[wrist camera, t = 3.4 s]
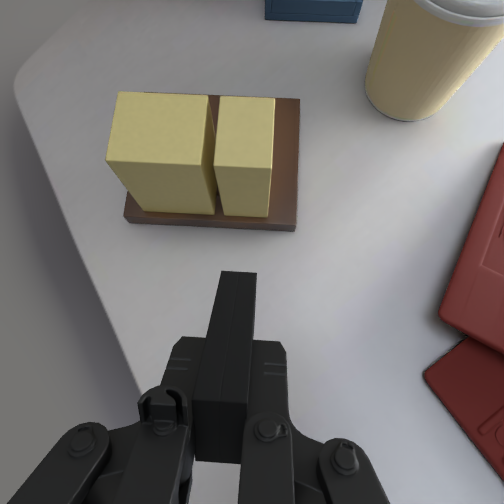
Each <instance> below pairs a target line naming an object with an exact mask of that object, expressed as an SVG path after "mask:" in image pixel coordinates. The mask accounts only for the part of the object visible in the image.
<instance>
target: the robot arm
mask: <svg viewBox="0 0 504 504" xmlns="http://www.w3.org/2000/svg"><path fill="white" fill-rule="evenodd" d="M256 280H257V273H250V272H233V271H221V276H220V280H219V284H218V288H217V293H216V297H215V301H214V305H213V310H212V314H211V318H210V323H209V327H208V331H207V335H206V338H201V337H185V336H182V337H181V339H180V340H179V341H178V342H177V343H176V344H175V345H174V346H173V349H172V352H171V355H170V358H169V361H168V364H167V367H166V370H165V372H164V375H163V378H162V381H161V384H160V385H159V386H156V387H154V388H151V389H149V390H148V391H147V392H146V393H144V394H143V395H142V396H141V398H140V400H139V401H138V409H139V415H140V421H138V422H137V423H135V424H132V425H129V426H126V427H122V428H118V429H114V430H110V431H107V429H106V427H105V426H103V425H101V424H99V423H94V422H87V423H83V424H79V425H77V426H75V427H74V428H72V429H70V430H69V431H68V432H67V433H65V434H64V435H63V436H62V437H61V438H60V440H59V441H58V442H57V443H56V444H55V446H54V447H53V448H52V449H51V451H50V452H49V453H48V454H47V455H46V457H45V458H44V459H43V460H42V461H41V463H40V464H39V465H38V466H37V468H36V469H35V470H34V471H33V473H32V474H31V475H30V476H29V477H28V479H27V480H26V481H25V482H24V484H23V485H22V486H21V487H20V488H19V489H18V491H17V492H16V493H15V495H14V496H13V497H12V498H11V499H10V500H9V502H8V503H7V504H188V502H189V496H190V491H191V485H192V466H193V461H194V456H195V461H204V462H218V463H232V464H241V469H240V481H239V494H238V504H390V502H389V500H388V498H387V496H386V494H385V492H384V490H383V488H382V486H381V483H380V481H379V479H378V477H377V475H376V473H375V471H374V469H373V467H372V465H371V462H370V460H369V458H368V457H367V455H366V454H365V452H364V451H363V449H362V448H360V447H359V446H358V445H357V444H355V443H354V442H352V441H349V440H347V439H343V438H334V439H331V440H329V441H326V442H325V443H324V444H323V443H320V442H318V441H315V440H313V439H310V438H308V437H306V436H304V435H303V434H301V433H300V432H299V431H298V430H297V429H296V428H295V427H294V425H293V424H292V422H291V420H290V417H289V408H288V384H287V361H286V351H285V349H284V348H283V346H282V344H281V343H280V342H279V341H263V340H253V336H254V321H255V300H256Z"/></svg>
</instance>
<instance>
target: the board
mask: <svg viewBox="0 0 504 504" xmlns="http://www.w3.org/2000/svg"><path fill="white" fill-rule="evenodd" d="M144 93H154V92H144ZM167 94H177V93H167ZM190 95H200V94H190ZM207 96H208V98H209V104H210V109H211V115H212V120H213V126H214V131H215V137H216V134H217V123H218V113H219V103H220V96H223V95H207ZM237 97H246V96H237ZM260 98H269V97H260ZM299 114H300V99H292V98H275V114H274V135H273V156H272V173H271V184H270V195H269V207H268V217H267V218H265V217H245V216H226V215H224V212H223V207H222V203H221V198H220V193H219V189H218V184H217V195H216V206H215V214H214V215H207V214H188V213H168V212H149V211H143V210H142V208H141V207H140V206H139V204H138V203H137V202H136V200H135V199H134V198H133V196H132V195H131V194H130V193H129V191H127V197H126V203H125V209H124V215H123V216H124V218H125V219H126V220H127V221H128V222H129V223H145V224H164V225H183V226H202V227H222V228H241V229H260V230H279V231H295V228H296V225H297V191H298V153H299Z"/></svg>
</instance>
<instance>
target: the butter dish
mask: <svg viewBox="0 0 504 504" xmlns="http://www.w3.org/2000/svg"><path fill="white" fill-rule="evenodd" d="M362 3H363V0H265V19H266V20H292V21H318V22H344V23H356V22H357V19H358V16H359V13H360V10H361V6H362Z"/></svg>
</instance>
